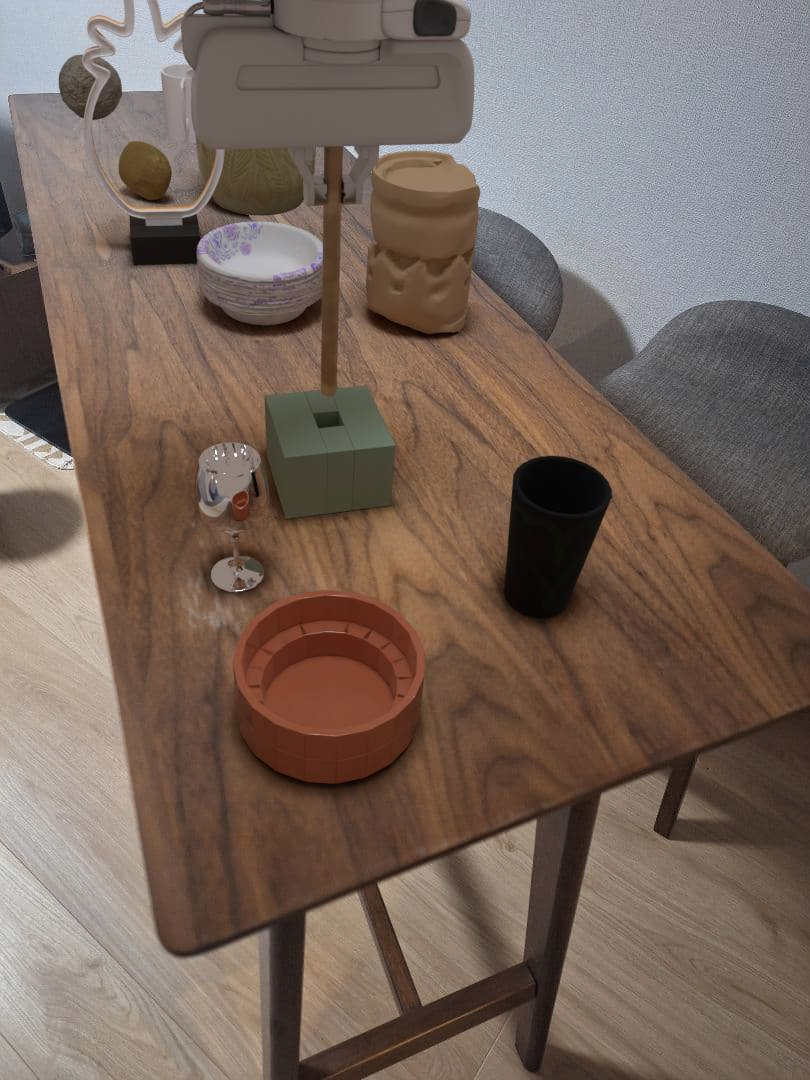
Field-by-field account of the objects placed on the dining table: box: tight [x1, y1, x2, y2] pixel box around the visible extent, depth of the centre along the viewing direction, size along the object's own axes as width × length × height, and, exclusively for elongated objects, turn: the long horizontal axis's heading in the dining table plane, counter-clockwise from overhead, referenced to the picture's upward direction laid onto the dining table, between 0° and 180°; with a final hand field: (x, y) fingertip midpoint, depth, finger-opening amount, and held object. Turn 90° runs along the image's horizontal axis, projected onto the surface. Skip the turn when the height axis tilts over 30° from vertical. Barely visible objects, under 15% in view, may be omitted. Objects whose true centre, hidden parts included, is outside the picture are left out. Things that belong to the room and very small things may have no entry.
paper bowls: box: [196, 221, 323, 326], centre depth 110 cm, size 15×15×8 cm
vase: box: [195, 134, 317, 217], centre depth 129 cm, size 17×17×27 cm
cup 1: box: [160, 63, 196, 144], centre depth 152 cm, size 8×12×10 cm
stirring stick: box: [320, 146, 344, 396], centre depth 74 cm, size 1×1×22 cm
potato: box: [117, 140, 173, 201], centre depth 132 cm, size 7×8×8 cm
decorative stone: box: [58, 54, 123, 121], centre depth 155 cm, size 10×8×10 cm
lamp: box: [82, 0, 225, 266], centre depth 112 cm, size 17×9×32 cm, turn 103°
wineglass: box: [193, 441, 270, 593], centre depth 73 cm, size 6×6×12 cm
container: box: [365, 150, 481, 335], centre depth 108 cm, size 13×13×18 cm
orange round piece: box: [232, 589, 426, 784], centre depth 65 cm, size 13×13×6 cm
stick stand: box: [264, 385, 397, 520], centre depth 86 cm, size 10×10×7 cm
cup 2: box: [503, 455, 613, 619], centre depth 74 cm, size 8×8×12 cm
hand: (332, 202), depth 70 cm, fingers closed on stirring stick, 1 cm apart
